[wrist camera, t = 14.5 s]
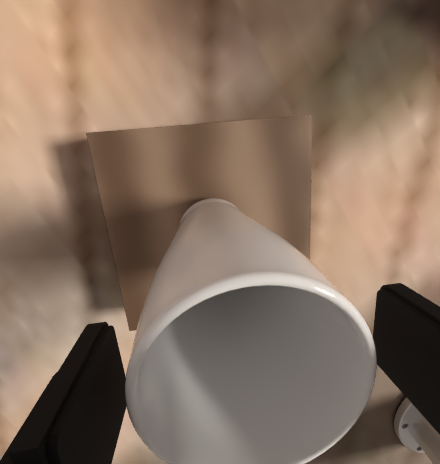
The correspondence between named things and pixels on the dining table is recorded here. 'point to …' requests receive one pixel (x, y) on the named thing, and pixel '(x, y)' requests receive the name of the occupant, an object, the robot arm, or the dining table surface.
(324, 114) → the dining table surface
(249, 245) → the white tapered cylinder
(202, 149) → the walnut block
